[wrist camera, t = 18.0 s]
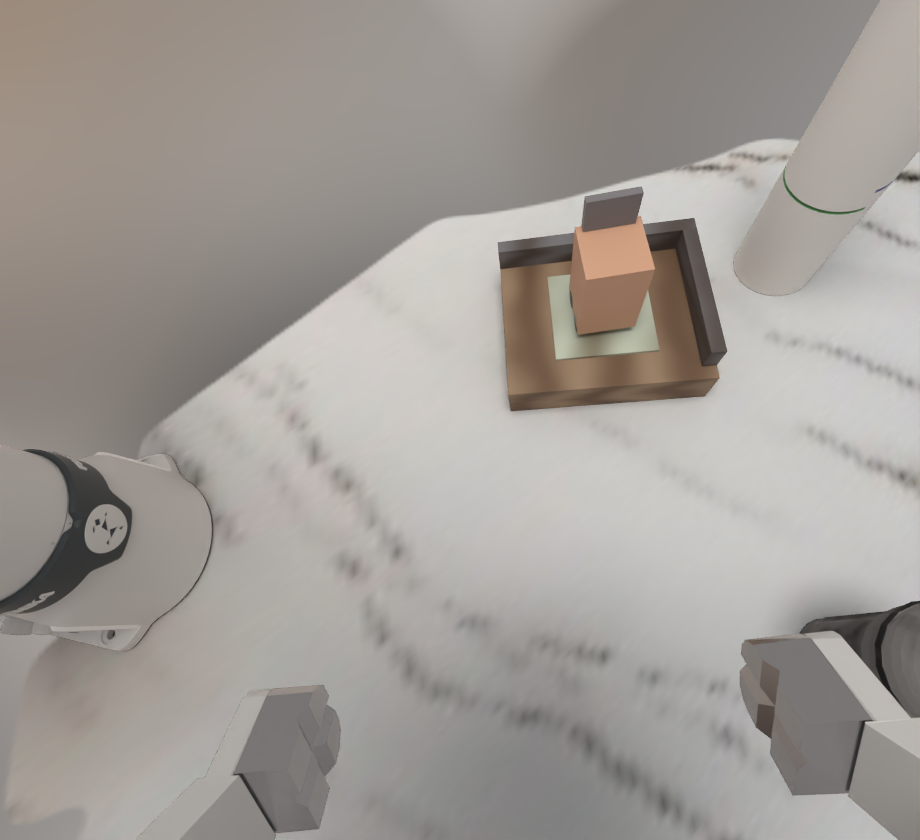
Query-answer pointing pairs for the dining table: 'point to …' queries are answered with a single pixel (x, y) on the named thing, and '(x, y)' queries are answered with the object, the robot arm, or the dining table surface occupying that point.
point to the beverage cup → (884, 648)
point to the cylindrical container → (841, 156)
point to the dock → (614, 351)
